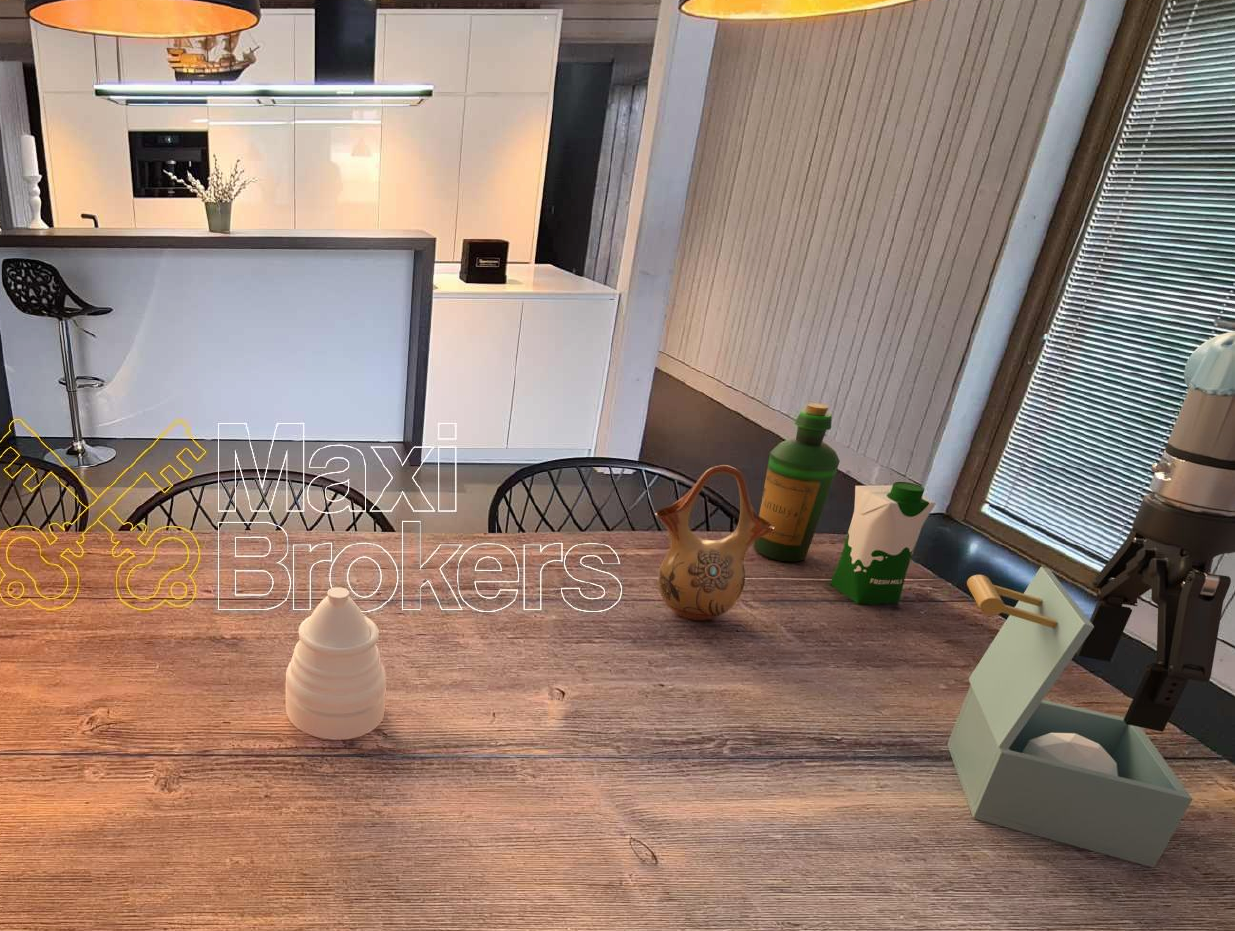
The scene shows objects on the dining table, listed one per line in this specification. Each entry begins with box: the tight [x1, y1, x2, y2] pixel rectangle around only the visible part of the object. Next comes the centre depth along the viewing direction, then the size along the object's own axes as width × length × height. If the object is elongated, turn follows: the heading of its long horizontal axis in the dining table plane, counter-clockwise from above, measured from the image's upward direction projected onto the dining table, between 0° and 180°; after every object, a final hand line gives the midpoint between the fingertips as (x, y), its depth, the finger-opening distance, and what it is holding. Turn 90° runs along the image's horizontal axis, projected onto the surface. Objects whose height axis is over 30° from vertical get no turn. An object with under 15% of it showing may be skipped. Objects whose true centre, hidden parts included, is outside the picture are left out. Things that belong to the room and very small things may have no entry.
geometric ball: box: [1022, 733, 1118, 776], centre depth 88 cm, size 8×8×8 cm
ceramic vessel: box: [654, 464, 774, 621], centre depth 122 cm, size 16×9×25 cm, turn 73°
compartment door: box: [966, 566, 1094, 750], centre depth 87 cm, size 16×14×7 cm
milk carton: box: [829, 481, 937, 605], centre depth 130 cm, size 9×9×20 cm
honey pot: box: [285, 586, 388, 741], centre depth 101 cm, size 13×13×18 cm
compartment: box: [946, 684, 1193, 869], centre depth 88 cm, size 15×14×9 cm
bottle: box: [753, 402, 841, 563], centre depth 143 cm, size 11×11×28 cm
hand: (1116, 689), depth 85 cm, fingers open, 13 cm apart
